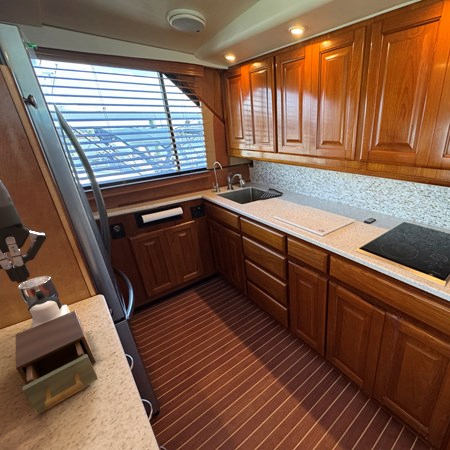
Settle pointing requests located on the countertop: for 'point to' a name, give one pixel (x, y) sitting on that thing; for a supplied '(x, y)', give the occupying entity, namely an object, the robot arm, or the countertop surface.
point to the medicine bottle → (46, 310)
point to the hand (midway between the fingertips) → (22, 280)
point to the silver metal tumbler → (37, 289)
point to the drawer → (58, 376)
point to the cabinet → (49, 341)
